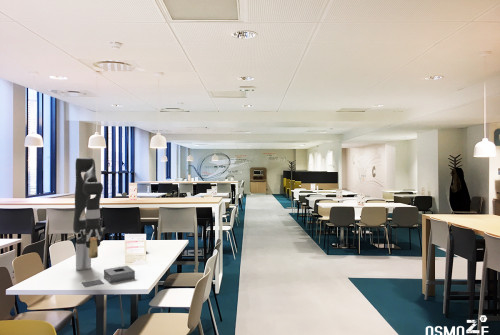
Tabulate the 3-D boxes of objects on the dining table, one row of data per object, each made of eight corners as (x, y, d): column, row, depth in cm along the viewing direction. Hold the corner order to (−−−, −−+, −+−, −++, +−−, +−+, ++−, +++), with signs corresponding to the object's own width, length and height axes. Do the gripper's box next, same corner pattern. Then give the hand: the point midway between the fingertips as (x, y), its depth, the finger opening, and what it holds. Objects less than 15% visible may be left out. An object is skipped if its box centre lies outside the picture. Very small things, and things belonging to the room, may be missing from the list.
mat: (81, 283, 206) (81, 282, 206) (99, 279, 211) (99, 279, 211) (85, 288, 198) (85, 287, 198) (104, 284, 203) (104, 283, 203)
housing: (103, 277, 216) (103, 269, 216) (127, 273, 224) (127, 265, 224) (110, 283, 204) (110, 275, 204) (134, 279, 213) (134, 270, 213)
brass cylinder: (87, 256, 205) (87, 237, 205) (96, 255, 208) (96, 236, 208) (89, 258, 201) (89, 239, 201) (98, 257, 204) (98, 238, 204)
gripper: (104, 215, 212) (104, 244, 212) (77, 217, 203) (77, 247, 203) (107, 216, 206) (107, 246, 206) (80, 219, 197) (80, 250, 197)
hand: (93, 246), depth 204 cm, fingers closed on brass cylinder, 5 cm apart
